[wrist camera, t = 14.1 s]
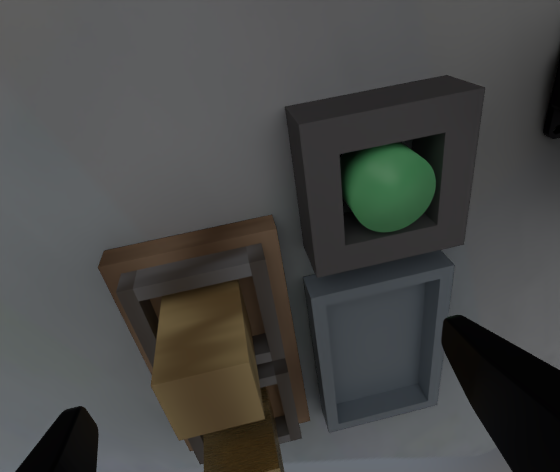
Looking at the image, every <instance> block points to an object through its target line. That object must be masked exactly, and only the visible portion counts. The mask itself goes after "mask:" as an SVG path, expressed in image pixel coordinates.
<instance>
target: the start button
mask: <svg viewBox="0 0 560 472" xmlns="http://www.w3.org/2000/svg"><path fill="white" fill-rule="evenodd" d="M340 169H341V185H342V198H343V199H344V201H345V202H346V203H347V205H348V206H349V208H350V209H351V210H352V212H353V213H354V215H355V216H356V218H357V219H358V220H359V222H360V223H361V224H362V225H363V226H365V227H366V228H368V229H370V230H373V231H377V232H392V231H397V230H400V229H402V228H405V227H407V226H409V225H410V224H412V223H413V222H415V221H416V220H417V219H418V218H419V217H420V216H421V215H422V214H423V213H424V212H425V211H426V209H427V208H428V207H429V205H430V203H431V201H432V199H433V196H434V193H435V188H436V179H435V174H434V171H433V169H432V167H431V165H430V164H429V163H428V162H427V161H426V160H425V159H424V158H422V157H421V156H419V155H418V154H417V153H415V152H414V151H413V150H411V149H410V148H408V147H407V146H406V145H404V144H403V143H402V142H397V143H392V144H387V145H382V146H377V147H372V148H367V149H363V150H358V151H353V152H348V153H344V154H343V156H342V157H341V159H340Z"/></svg>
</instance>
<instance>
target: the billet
mask: <svg viewBox="0 0 560 472" xmlns="http://www.w3.org/2000/svg"><path fill="white" fill-rule="evenodd" d="M260 389H261V396H262V402H263V408H264V415H265V419H263V420H259V421H255V422H251V423H247V424H243V425H240V426H236V427H232V428H228V429H224V430H220V431H216V432H212V433H208V434H204V435H203V436H204V472H284V467H283V462H282V456H281V451H280V445H279V439H278V434H277V428H276V423H275V417H274V412H273V408H272V404H271V400H270V397H269V393H268V389H267V386H266V387H262V388H260Z"/></svg>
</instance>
